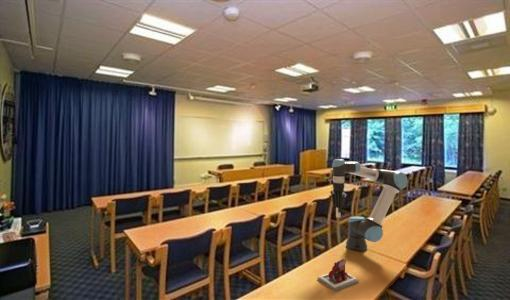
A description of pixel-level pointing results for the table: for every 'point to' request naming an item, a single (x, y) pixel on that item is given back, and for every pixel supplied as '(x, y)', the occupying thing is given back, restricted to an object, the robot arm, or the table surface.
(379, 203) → the robot arm
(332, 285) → the base board
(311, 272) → the table surface
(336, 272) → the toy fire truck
